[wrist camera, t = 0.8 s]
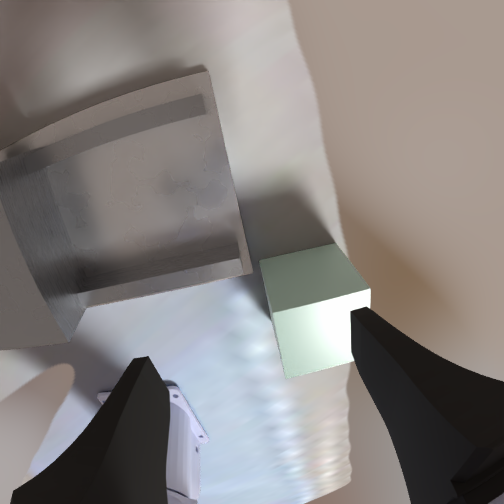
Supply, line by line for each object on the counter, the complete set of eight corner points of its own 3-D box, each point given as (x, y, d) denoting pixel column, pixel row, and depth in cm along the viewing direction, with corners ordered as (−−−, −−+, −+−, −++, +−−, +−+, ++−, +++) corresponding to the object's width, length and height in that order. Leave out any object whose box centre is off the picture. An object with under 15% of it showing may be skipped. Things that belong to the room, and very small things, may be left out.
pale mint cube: (339, 304, 22) (367, 356, 17) (271, 320, 22) (285, 378, 17) (335, 242, 20) (370, 288, 15) (258, 259, 20) (272, 312, 15)
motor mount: (252, 269, 20) (264, 324, 15) (27, 315, 20) (-3, 362, 15) (205, 54, 14) (199, 32, 9) (-38, 159, 14) (-89, 182, 9)
